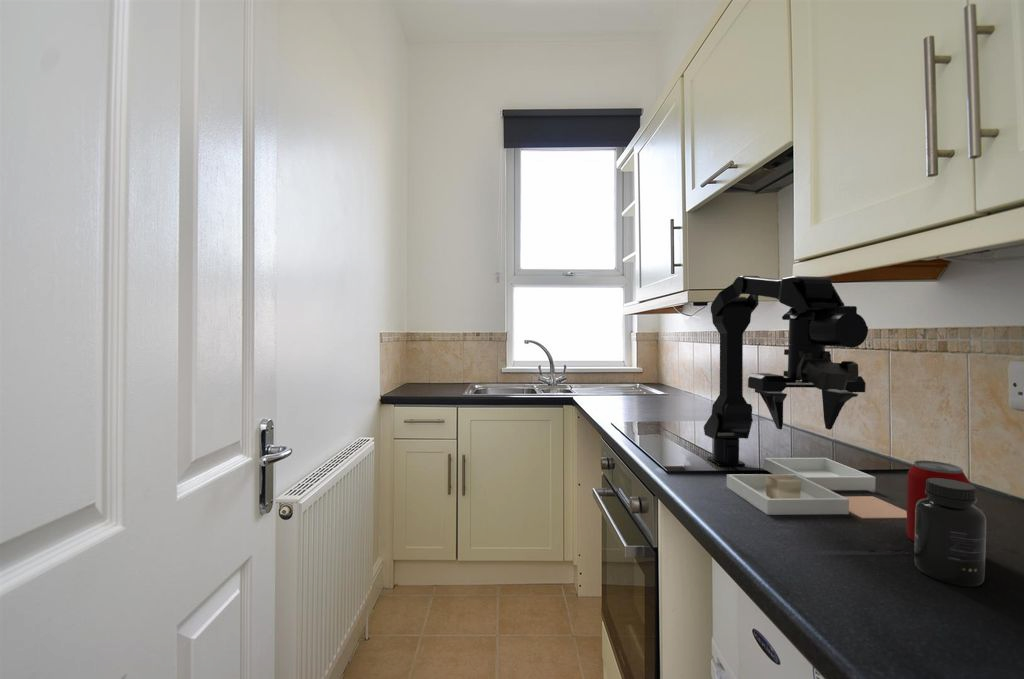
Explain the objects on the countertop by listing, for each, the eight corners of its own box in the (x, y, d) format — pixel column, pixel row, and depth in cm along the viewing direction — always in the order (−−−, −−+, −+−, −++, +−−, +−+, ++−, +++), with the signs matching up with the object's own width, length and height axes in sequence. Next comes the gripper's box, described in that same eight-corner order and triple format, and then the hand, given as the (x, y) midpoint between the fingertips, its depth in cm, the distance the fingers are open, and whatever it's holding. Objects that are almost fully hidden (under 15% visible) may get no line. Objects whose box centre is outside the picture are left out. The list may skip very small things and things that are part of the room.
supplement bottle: (901, 560, 66) (903, 474, 65) (954, 562, 65) (956, 476, 65) (940, 586, 59) (942, 490, 59) (1001, 590, 58) (1003, 493, 58)
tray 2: (763, 471, 107) (764, 457, 107) (825, 470, 107) (825, 457, 107) (804, 492, 93) (805, 477, 93) (875, 492, 93) (875, 477, 93)
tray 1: (726, 489, 95) (726, 474, 94) (796, 488, 95) (796, 474, 95) (767, 517, 80) (767, 499, 80) (848, 516, 81) (849, 499, 81)
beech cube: (766, 495, 90) (766, 474, 90) (786, 495, 90) (787, 474, 90) (778, 503, 86) (779, 481, 86) (800, 503, 86) (800, 481, 86)
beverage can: (949, 539, 72) (951, 461, 72) (979, 559, 66) (981, 474, 66) (897, 533, 74) (898, 457, 74) (921, 553, 68) (923, 469, 67)
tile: (821, 499, 89) (821, 496, 89) (873, 499, 89) (873, 496, 89) (862, 521, 79) (862, 517, 79) (920, 520, 79) (920, 517, 79)
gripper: (782, 346, 79) (779, 439, 79) (892, 347, 79) (889, 440, 80) (747, 343, 90) (745, 425, 90) (844, 344, 90) (841, 425, 91)
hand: (803, 429), depth 87 cm, fingers open, 9 cm apart
